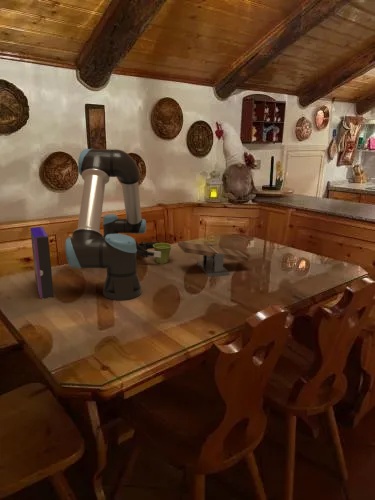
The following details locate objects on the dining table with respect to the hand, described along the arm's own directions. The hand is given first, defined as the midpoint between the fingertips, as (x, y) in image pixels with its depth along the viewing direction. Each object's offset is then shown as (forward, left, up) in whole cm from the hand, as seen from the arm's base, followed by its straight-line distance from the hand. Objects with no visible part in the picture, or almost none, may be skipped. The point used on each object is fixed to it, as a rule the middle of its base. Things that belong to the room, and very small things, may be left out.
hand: (166, 250), depth 179 cm
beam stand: (-15, -19, -6) cm, 25 cm away
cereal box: (-23, +56, -6) cm, 61 cm away
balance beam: (-15, -19, +2) cm, 24 cm away
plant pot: (+1, +2, -6) cm, 6 cm away
